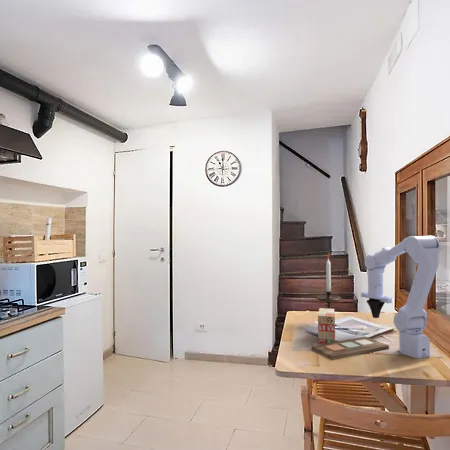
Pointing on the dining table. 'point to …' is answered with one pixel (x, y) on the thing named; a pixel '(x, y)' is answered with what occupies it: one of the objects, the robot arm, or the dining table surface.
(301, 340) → the dining table surface
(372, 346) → the tap panel
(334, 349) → the terracotta tile
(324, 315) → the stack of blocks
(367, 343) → the cream tile
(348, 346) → the sage tile
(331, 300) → the candlestick
